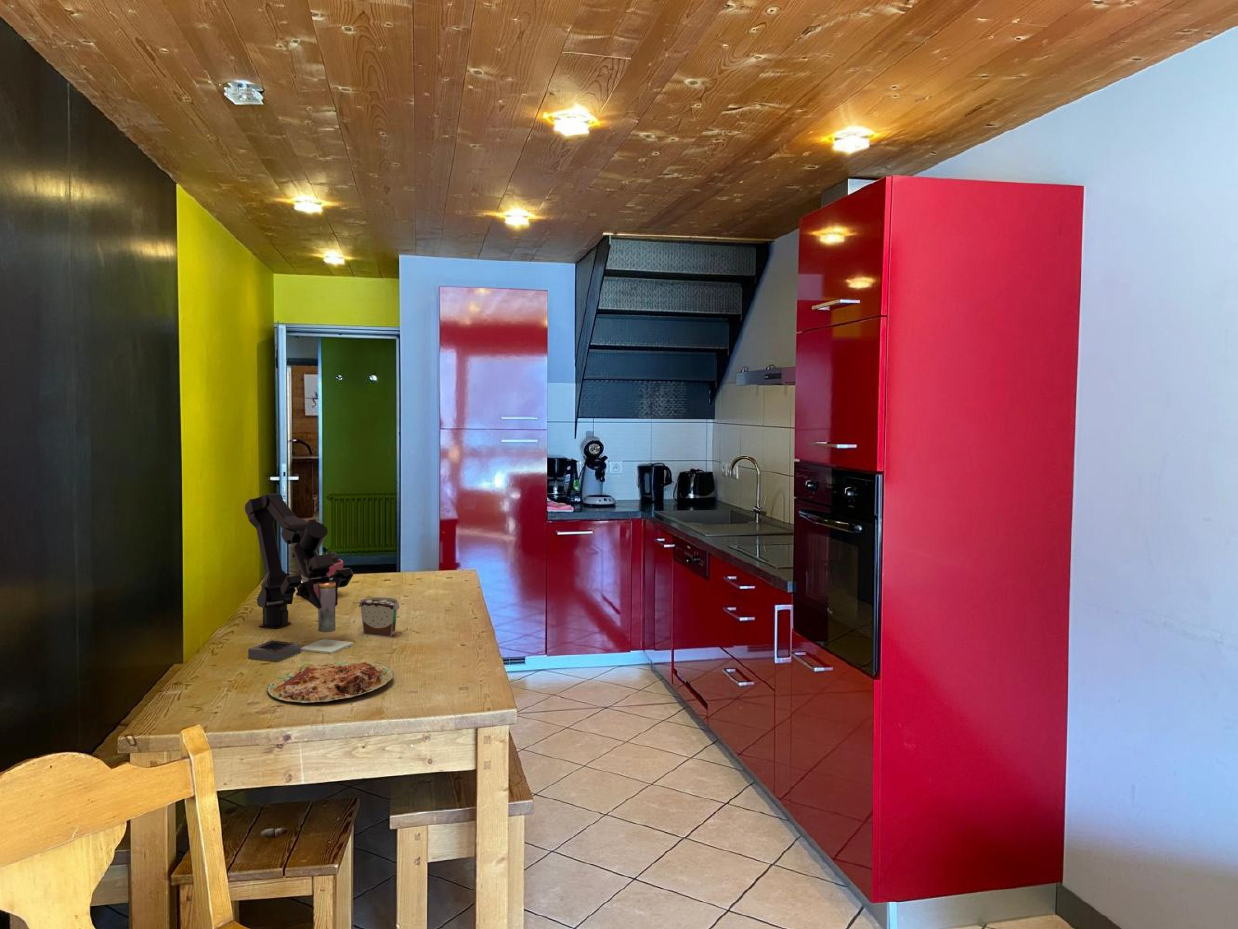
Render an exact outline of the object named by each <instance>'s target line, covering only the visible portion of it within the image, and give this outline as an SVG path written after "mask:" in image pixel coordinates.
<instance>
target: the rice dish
mask: <svg viewBox="0 0 1238 929" xmlns="http://www.w3.org/2000/svg"><path fill="white" fill-rule="evenodd" d="M394 676H395V673H394V672H393V670H392V669H391V668H390V666H386V665H384V664H381V663H379V662H377V661H375V662H368V661H366V660H365V661H340V662H331V663H324V664H318V665H313V664H312V663H305V664H302V665H300V668H299V669H298V670H294V671H292V672H288V673H285V674H283V675H281V676H279V677H277V678H276V679H274V680H272V681H271V682H270V683H269V684H268V685H267V688H266V692H267V693H268V694H269V696H270V697H272V698H275V699H276V700H281V701H283V702H289V703H301V704H307V703H308V704H310V703H311V704H312V703H321V702H325V703H326V702H330V701H337V700H342V699H352V698H355V697H356V698H357V697H358V696H361V695H363V694H366V693H370V692H372V691H375V690H377V689H379V688H381V687H383V686H385V685H386V684H388V682H389V681H391V680H392V678H394ZM345 694H348V695H350V696H348V695H345Z"/></svg>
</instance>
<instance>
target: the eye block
mask: <svg viewBox="0 0 1238 929" xmlns="http://www.w3.org/2000/svg"><path fill="white" fill-rule="evenodd" d="M301 648H302V647H301V642H292V641H283V640H282V641H281V640H272V639H271V640H269V641H266V642H264V643H260V644H257V645H255V646H253V647H250V648H248V650H247V655H248V656H247V657H248V658H250V660H256V659H259V661H265V660H266V662H267V661H268V662H274V661H275V662H276V663H278V661H279V662H281V661H284V660H286V659H288V658H287V657H289V658H291V657H293V656H292V655H294V656H295V654H296V655H298V654H301V653H300V652H302V651H301ZM297 653H298V654H297ZM290 656H291V657H290ZM285 658H286V659H285ZM283 659H284V660H283ZM280 660H281V661H280Z"/></svg>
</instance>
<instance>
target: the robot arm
mask: <svg viewBox="0 0 1238 929" xmlns="http://www.w3.org/2000/svg"><path fill="white" fill-rule="evenodd" d="M244 512H245V514H246V515H247V519H248V521H249V522H250V524H251V525H252V526H253V527H254V528H255V529H256V530H255V531H256V534H257V539H258V545H259V548H260V554H261V559H262V563H263V569H264V577H263V580H262V582H261V584H260V585H261V590H260V592H259V593H258V595H257V597H256V604H257V606H258V607H260V608H262V623H261V624H259V625H258V627H260V628H269V629H280V628H283V627H286V626H288V625H291V624H292V622H291V621H289V609H288V605H292V604H293V601H294V595H295V596H296V597H301V598H303V600H306V602H308V603H310V604H311V605H313V606H314V607H315V608H316V609H317V610H318V609H320V608H321V605H320V602H319V600H318V597H317V595H316V593H315V591H314V587H313V585H318V583H319V582H322V581H334V582H336V586H335V607H337V606H338V602H339V601H338V600H339V599H338V598H339V597H338V594H339V593H338V589H339V588H345V587H347V586H348V584H349V583H350V582H351V580H352V578H353V577H354V573H353V571H352V569H351V568H350V567H343V569H337V570H336V572H335V573H334V575H327V573H329V571H330V569H329V567H331V566H333V565H334V564H336V563H337V562H338V561H339V559H340V558H339V556H338V553H337V551H336V550H335V551H330V552H329V553H326V554H319V553H318V551H317V550H318V549H320V548H321V546H322V544H323V543H324V541H325V539H326V537H327V535H328V528H327V527H326V526H325V525H324V524H323V523H321V522H319V521H317V519H315V518H312V519H308V520H307V521H306V520H305V519H304V518H301V517H298V516H296V515H295V513H294V512H293V511H292V509H290V507H289V505H287V503H286V502H285V501H284V498H283V496H282V494H281V493H265V494H264V495H263V494H262V495H261V496H260V497H259V496H258V497H256V498H250V499H249V500H248V501H247V502H246V503H245V505H244ZM275 521H276V523H277V524H278V525H279V527H280V528H281V533H280V535H281V537H282V540H283V541H284V543H285V544H286V545H294V547H293V549H292V553H291V558H295V559H296V562H297V564H298V566H299V567H300V569H298V574H292V575H291V574H290V573H289V572H288V573H286V571H285V570H283V566H282V562H281V557H280V553H279V547H278V542H277V536H276V532H275V527H274V523H275ZM299 567H298V568H299ZM301 573H302V574H303V576H302V574H301ZM296 590H297V591H296Z"/></svg>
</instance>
